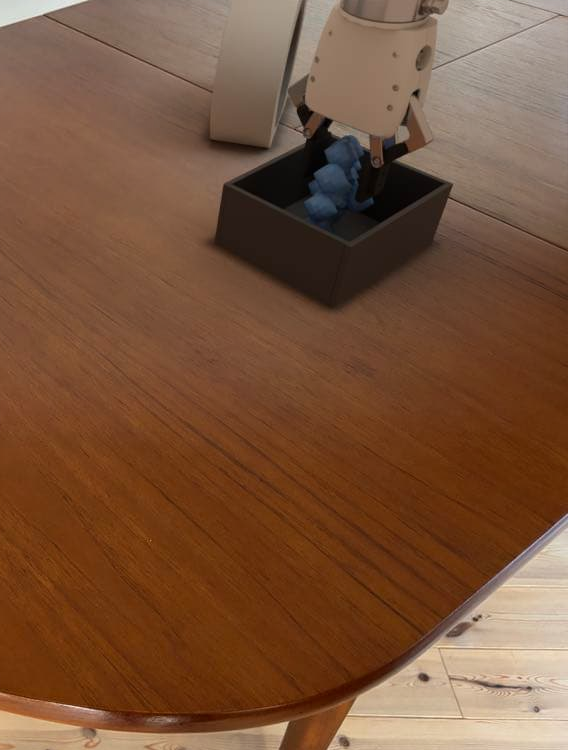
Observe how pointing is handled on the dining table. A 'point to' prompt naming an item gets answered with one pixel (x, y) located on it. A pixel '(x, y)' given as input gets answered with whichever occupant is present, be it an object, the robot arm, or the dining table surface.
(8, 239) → the dining table surface
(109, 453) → the dining table surface
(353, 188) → the grapes
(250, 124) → the alarm clock
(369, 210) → the basket
